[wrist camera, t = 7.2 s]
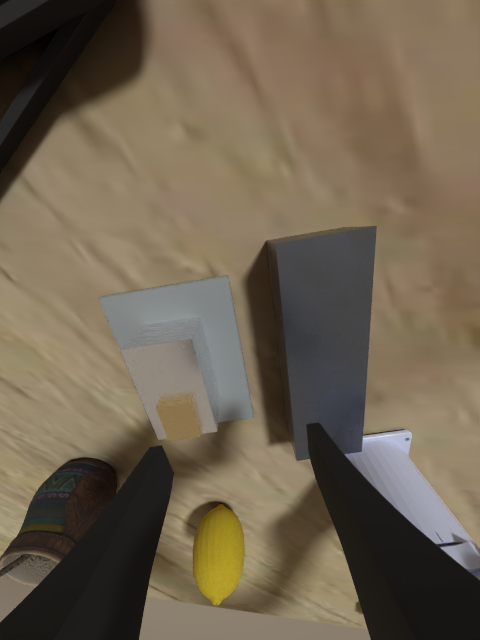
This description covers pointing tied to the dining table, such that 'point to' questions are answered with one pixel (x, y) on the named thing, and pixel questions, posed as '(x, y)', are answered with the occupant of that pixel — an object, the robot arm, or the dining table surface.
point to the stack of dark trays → (69, 41)
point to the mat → (188, 302)
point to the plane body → (323, 330)
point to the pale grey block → (175, 378)
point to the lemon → (218, 554)
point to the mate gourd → (58, 519)
